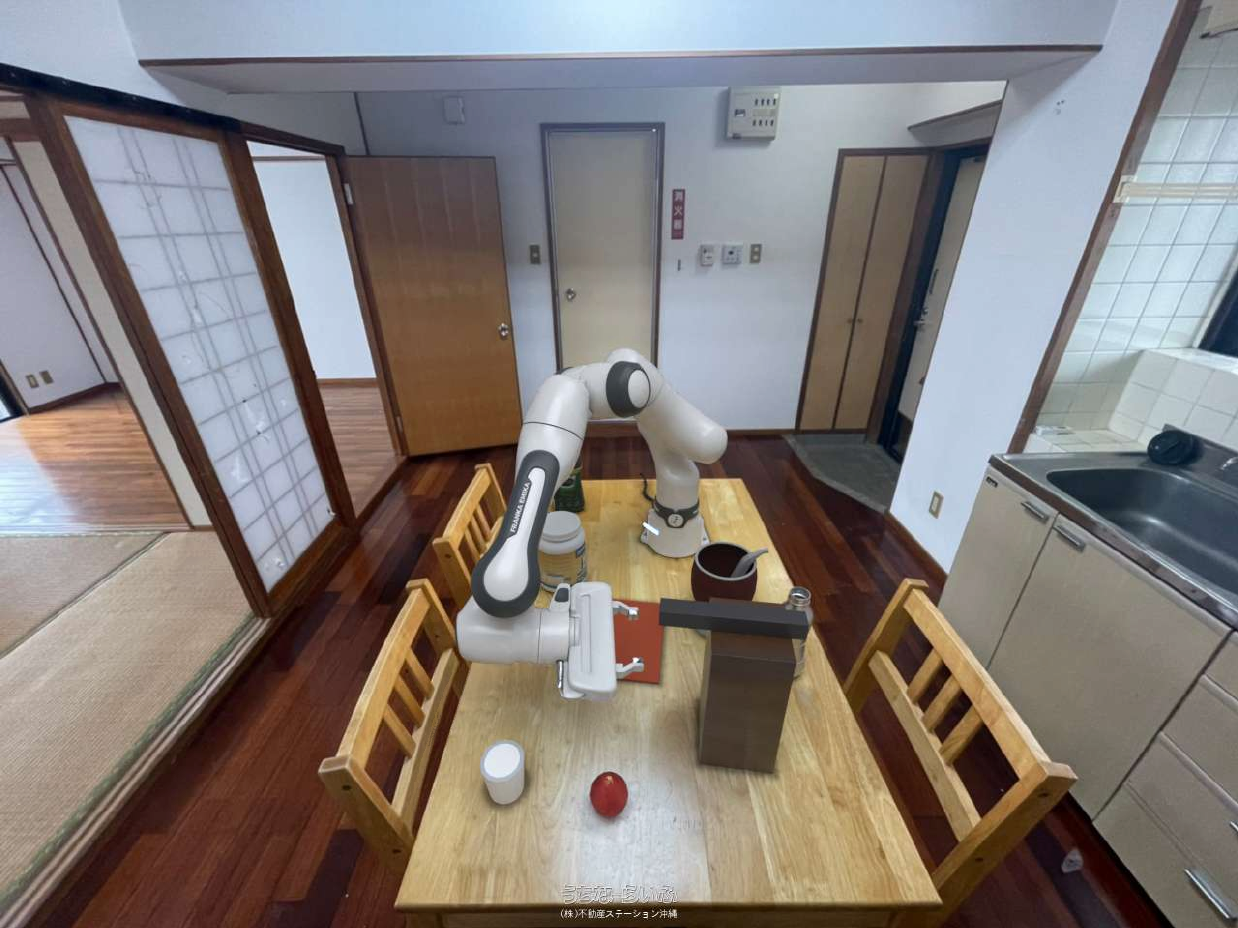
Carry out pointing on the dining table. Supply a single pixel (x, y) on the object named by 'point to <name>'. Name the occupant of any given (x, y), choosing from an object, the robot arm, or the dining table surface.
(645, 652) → the baking mat
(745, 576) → the mate gourd
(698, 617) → the handle
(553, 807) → the dining table surface
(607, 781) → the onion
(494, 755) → the white short cylinder
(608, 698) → the robot arm
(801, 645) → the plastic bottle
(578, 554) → the supplement tub
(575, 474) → the coffee jar
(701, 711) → the tall wooden block
